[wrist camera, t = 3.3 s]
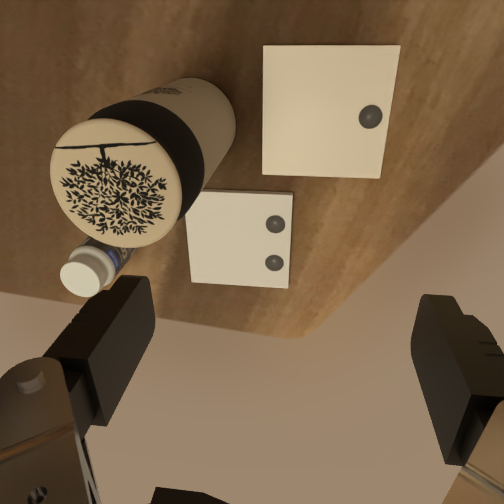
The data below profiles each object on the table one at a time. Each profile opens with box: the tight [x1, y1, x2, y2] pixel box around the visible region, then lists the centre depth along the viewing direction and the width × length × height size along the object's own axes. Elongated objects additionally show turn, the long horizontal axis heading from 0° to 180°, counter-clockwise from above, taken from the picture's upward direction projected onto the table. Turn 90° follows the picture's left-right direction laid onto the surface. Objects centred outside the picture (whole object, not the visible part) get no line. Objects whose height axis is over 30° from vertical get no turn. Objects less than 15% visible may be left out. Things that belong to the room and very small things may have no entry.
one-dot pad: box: [262, 45, 401, 178], centre depth 35 cm, size 11×11×1 cm
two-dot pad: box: [185, 189, 293, 288], centre depth 43 cm, size 11×11×1 cm
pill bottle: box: [60, 236, 136, 297], centre depth 41 cm, size 5×5×8 cm
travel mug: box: [50, 78, 236, 248], centre depth 30 cm, size 8×8×18 cm
